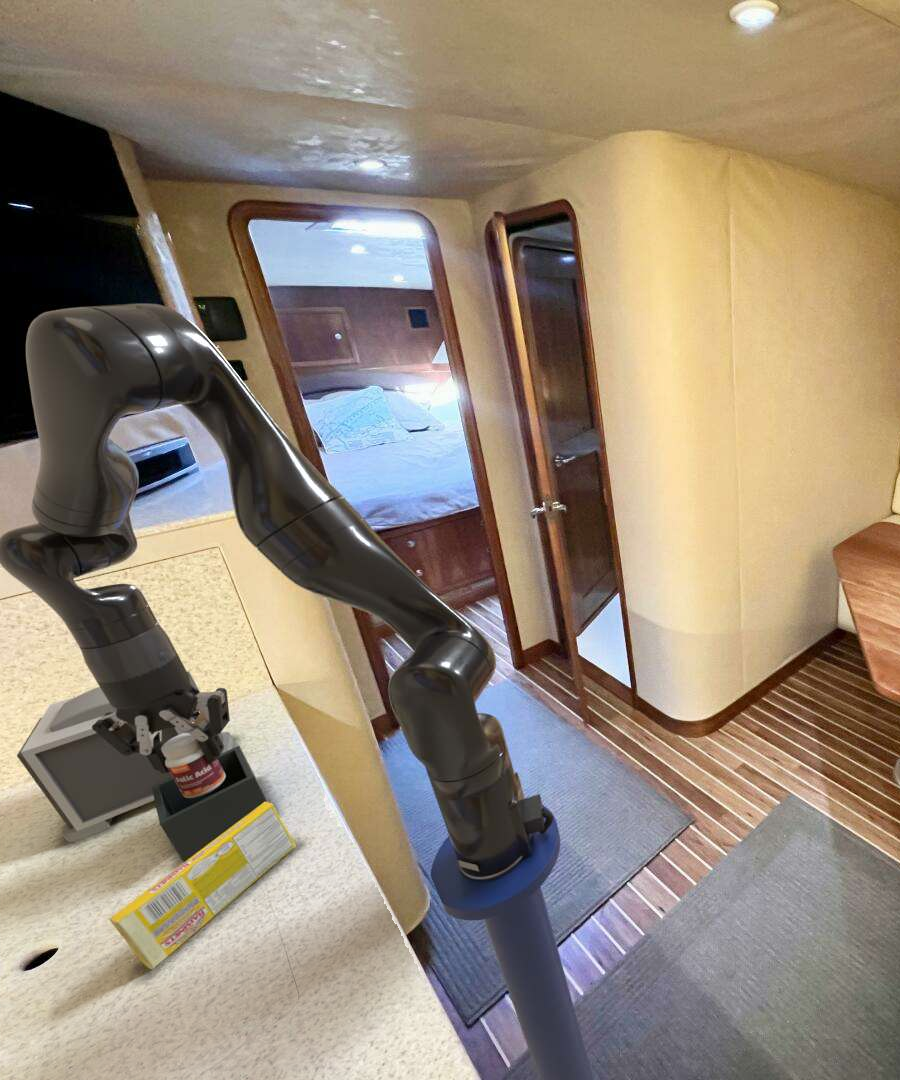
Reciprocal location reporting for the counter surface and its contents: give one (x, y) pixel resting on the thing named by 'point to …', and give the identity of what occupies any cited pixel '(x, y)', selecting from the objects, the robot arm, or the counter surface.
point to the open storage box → (208, 805)
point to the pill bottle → (191, 766)
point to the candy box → (203, 885)
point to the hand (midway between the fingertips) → (192, 762)
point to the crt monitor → (90, 765)
